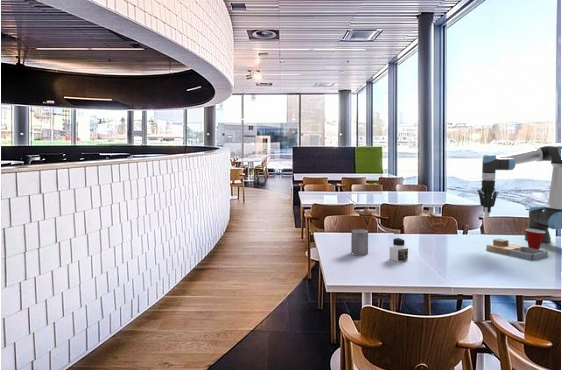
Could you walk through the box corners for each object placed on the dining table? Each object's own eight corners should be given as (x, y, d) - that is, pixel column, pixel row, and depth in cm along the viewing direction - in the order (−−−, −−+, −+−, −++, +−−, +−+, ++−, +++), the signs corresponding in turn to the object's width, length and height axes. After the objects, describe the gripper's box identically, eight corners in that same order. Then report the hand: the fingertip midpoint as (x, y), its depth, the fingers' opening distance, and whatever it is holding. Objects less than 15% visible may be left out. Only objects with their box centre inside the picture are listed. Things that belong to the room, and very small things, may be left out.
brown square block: (499, 243, 278) (499, 238, 278) (508, 245, 273) (508, 240, 273) (493, 244, 275) (493, 239, 275) (502, 246, 270) (502, 241, 270)
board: (502, 246, 282) (502, 242, 282) (524, 251, 270) (524, 246, 270) (486, 250, 274) (486, 245, 273) (508, 254, 262) (508, 249, 262)
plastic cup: (547, 251, 270) (548, 231, 268) (527, 250, 272) (528, 231, 271) (540, 247, 280) (541, 228, 279) (521, 246, 282) (522, 227, 281)
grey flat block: (523, 251, 270) (523, 246, 270) (547, 256, 258) (547, 251, 258) (508, 254, 262) (509, 249, 262) (532, 260, 250) (533, 254, 250)
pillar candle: (355, 250, 271) (355, 226, 269) (370, 253, 265) (371, 228, 264) (348, 254, 263) (348, 229, 262) (363, 256, 257) (363, 230, 256)
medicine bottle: (397, 262, 245) (398, 240, 244) (389, 259, 252) (389, 238, 251) (407, 260, 249) (408, 239, 248) (398, 257, 255) (399, 236, 254)
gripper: (475, 179, 283) (473, 216, 285) (494, 180, 272) (492, 219, 274) (482, 178, 287) (480, 215, 289) (502, 180, 275) (500, 218, 278)
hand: (486, 217), depth 281 cm, fingers closed
